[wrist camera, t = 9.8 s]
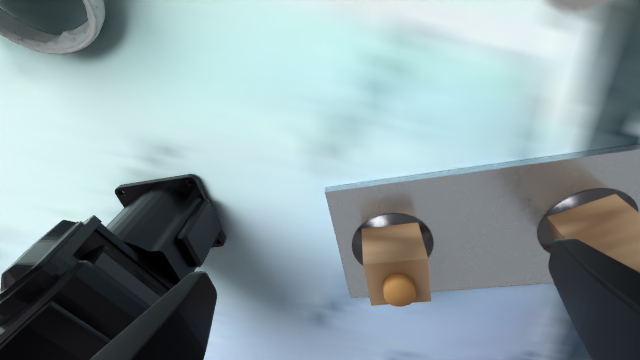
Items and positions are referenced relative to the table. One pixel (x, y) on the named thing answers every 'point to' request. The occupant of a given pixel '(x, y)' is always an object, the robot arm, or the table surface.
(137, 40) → the table surface
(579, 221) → the point post
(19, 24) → the ceramic mug
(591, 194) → the plate
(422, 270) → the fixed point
